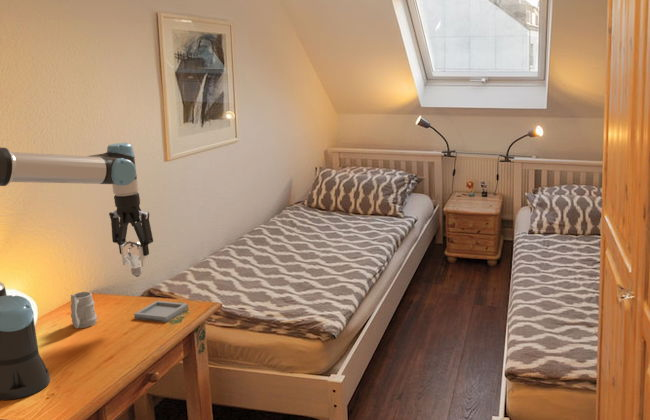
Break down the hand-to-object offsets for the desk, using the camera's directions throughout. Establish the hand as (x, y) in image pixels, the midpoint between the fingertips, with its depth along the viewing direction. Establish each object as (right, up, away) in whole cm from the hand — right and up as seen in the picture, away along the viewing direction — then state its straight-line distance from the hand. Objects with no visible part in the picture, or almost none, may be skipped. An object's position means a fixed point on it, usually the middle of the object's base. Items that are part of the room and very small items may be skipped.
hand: (135, 264), depth 221 cm
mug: (-17, -20, +2) cm, 27 cm away
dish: (+6, -17, +9) cm, 20 cm away
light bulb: (0, -4, +1) cm, 4 cm away
